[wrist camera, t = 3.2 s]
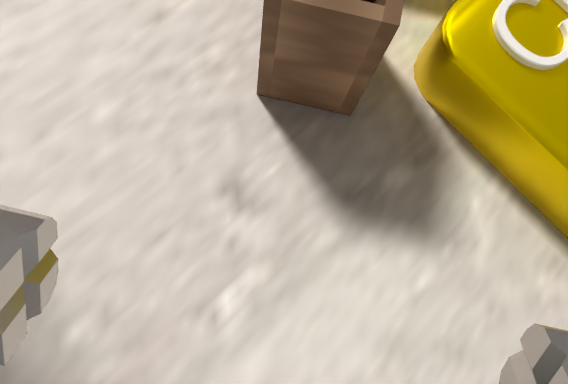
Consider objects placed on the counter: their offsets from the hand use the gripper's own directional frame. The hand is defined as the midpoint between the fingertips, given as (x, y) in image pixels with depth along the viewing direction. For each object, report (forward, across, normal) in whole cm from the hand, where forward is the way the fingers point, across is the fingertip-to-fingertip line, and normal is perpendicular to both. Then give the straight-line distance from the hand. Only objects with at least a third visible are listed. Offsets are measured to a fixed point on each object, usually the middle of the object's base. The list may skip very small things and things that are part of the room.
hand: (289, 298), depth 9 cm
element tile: (+21, -15, 0) cm, 25 cm away
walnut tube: (+19, 0, +2) cm, 19 cm away
